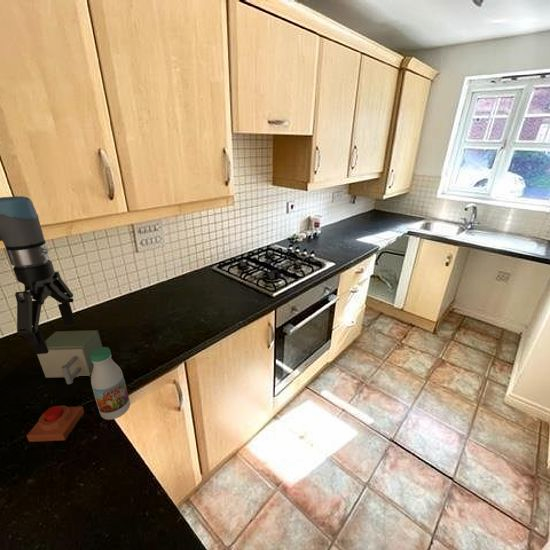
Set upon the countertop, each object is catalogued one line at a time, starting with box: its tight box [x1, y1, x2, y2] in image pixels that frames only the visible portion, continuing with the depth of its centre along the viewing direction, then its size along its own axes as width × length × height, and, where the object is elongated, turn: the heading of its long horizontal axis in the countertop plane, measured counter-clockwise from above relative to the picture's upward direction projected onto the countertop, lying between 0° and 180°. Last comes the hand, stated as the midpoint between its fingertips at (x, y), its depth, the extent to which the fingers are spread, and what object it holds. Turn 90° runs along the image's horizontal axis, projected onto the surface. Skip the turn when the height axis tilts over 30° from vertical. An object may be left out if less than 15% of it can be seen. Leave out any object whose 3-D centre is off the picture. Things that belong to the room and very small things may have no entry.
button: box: [43, 405, 62, 422], centre depth 79 cm, size 4×4×2 cm
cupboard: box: [45, 329, 103, 379], centre depth 100 cm, size 14×9×12 cm, turn 92°
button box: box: [26, 405, 85, 443], centre depth 80 cm, size 9×9×4 cm
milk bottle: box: [90, 346, 131, 421], centre depth 82 cm, size 8×8×20 cm
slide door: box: [36, 348, 91, 385], centre depth 92 cm, size 14×7×10 cm, turn 92°
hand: (57, 337), depth 80 cm, fingers open, 13 cm apart
